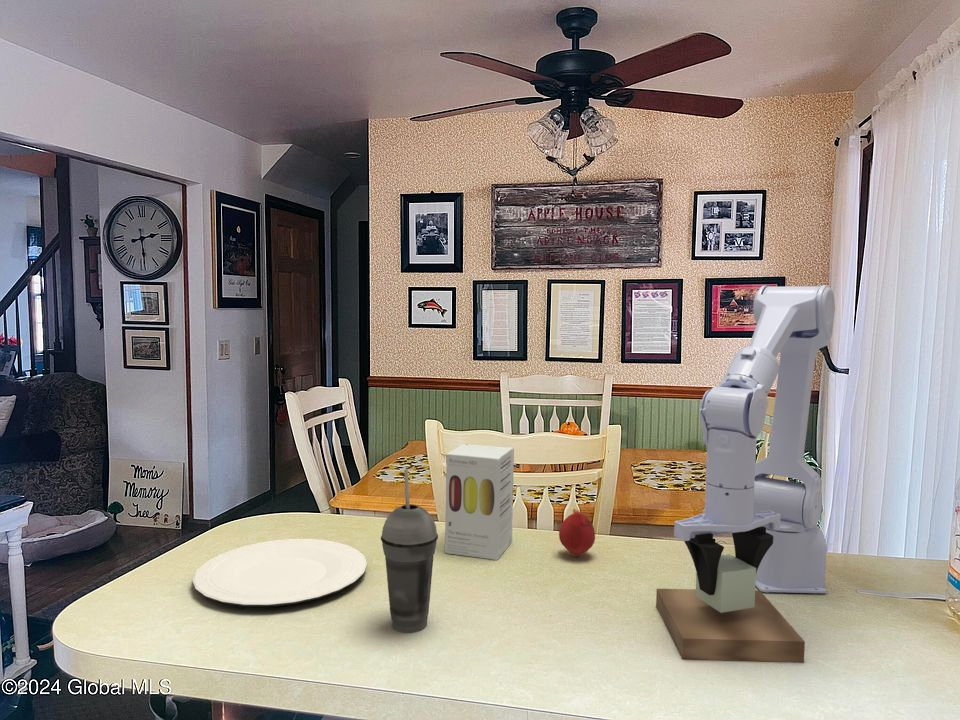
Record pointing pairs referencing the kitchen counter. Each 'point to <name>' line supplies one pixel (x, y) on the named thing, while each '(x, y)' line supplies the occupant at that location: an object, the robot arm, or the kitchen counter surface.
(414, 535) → the beverage cup
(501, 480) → the supplement box
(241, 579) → the plate
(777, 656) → the walnut base
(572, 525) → the onion
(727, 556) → the sage block
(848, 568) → the kitchen counter surface
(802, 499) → the robot arm
